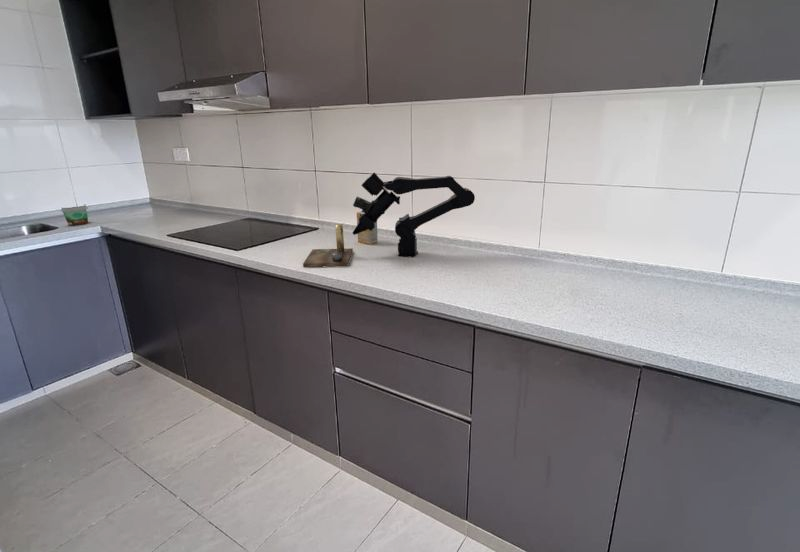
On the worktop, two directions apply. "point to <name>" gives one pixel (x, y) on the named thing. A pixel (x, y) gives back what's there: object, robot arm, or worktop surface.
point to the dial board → (326, 258)
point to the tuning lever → (339, 243)
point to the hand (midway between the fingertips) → (353, 233)
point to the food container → (76, 215)
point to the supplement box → (367, 233)
